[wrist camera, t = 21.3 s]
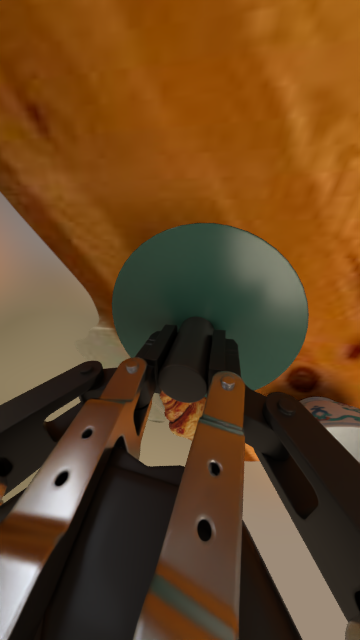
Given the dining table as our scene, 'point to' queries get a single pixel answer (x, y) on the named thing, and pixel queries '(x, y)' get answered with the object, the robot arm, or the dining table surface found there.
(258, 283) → the lid
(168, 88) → the dining table surface
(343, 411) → the chinaware
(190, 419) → the croissant
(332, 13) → the dining table surface
